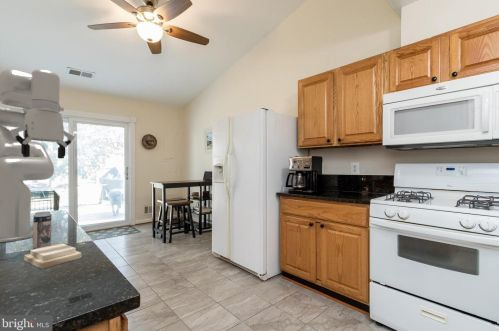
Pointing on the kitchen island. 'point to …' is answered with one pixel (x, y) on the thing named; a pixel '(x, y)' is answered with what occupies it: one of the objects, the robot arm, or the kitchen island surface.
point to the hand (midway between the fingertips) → (44, 157)
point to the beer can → (42, 229)
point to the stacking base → (53, 261)
